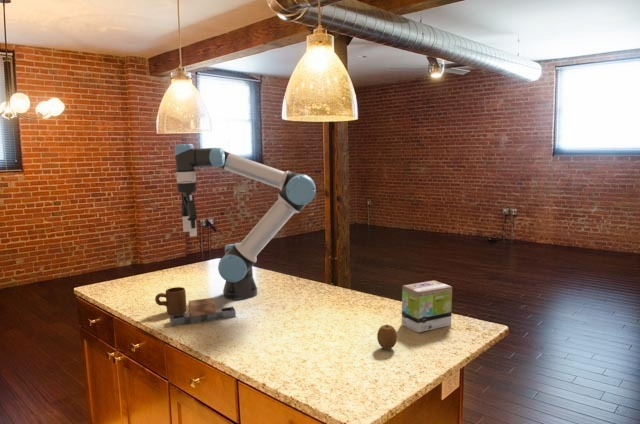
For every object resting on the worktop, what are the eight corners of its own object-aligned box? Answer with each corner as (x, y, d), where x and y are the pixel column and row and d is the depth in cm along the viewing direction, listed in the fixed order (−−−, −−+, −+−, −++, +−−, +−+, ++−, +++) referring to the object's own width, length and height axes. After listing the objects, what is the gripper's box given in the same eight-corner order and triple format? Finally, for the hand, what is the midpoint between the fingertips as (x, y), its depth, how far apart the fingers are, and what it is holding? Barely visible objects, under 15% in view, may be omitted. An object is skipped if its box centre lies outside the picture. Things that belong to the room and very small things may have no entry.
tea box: (419, 334, 161) (419, 292, 159) (401, 324, 170) (400, 285, 168) (452, 325, 168) (452, 285, 166) (433, 317, 177) (433, 279, 175)
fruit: (383, 354, 145) (383, 329, 144) (373, 347, 151) (373, 322, 150) (400, 350, 148) (400, 326, 147) (390, 343, 153) (390, 319, 152)
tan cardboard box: (213, 315, 185) (212, 297, 184) (216, 320, 178) (215, 302, 178) (189, 318, 182) (188, 300, 181) (191, 324, 175) (190, 306, 174)
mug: (159, 319, 181) (158, 295, 180) (153, 314, 187) (151, 291, 186) (189, 312, 188) (188, 289, 187) (182, 308, 194) (181, 285, 193)
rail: (233, 312, 187) (232, 306, 186) (235, 316, 182) (235, 310, 182) (169, 322, 178) (169, 315, 178) (170, 326, 173) (170, 319, 173)
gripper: (171, 181, 201) (175, 230, 203) (182, 184, 179) (186, 239, 181) (189, 180, 204) (193, 229, 207) (202, 183, 182) (206, 237, 184)
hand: (190, 233), depth 194 cm, fingers open, 13 cm apart
